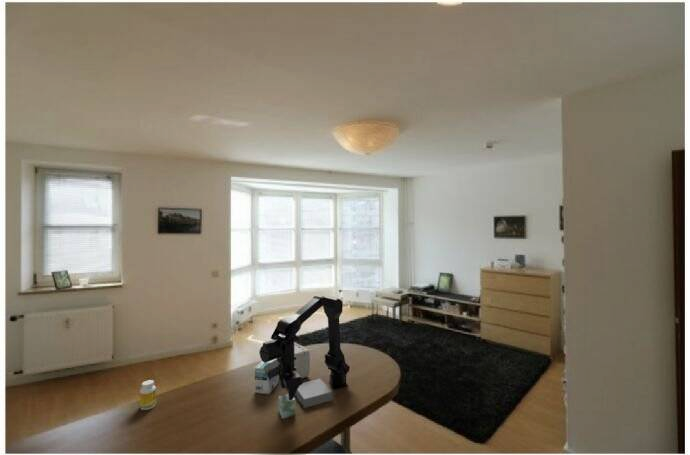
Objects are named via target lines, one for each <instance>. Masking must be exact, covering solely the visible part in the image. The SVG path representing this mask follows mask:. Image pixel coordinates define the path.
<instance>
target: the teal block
mask: <svg viewBox="0 0 690 455" xmlns="http://www.w3.org/2000/svg"><path fill="white" fill-rule="evenodd" d="M277 398H278V413H279V415H280V417H281V419H282V418H283V419H285V418H286V419H287V418H290V417H293V416H296V398H295V396H294V397H293V399H292V400H289V396H288V393H286V394H281V395H278V397H277ZM292 415H293V416H292ZM289 416H290V417H289Z"/></svg>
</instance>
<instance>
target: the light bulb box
mask: <svg viewBox="0 0 690 455" xmlns="http://www.w3.org/2000/svg"><path fill="white" fill-rule="evenodd" d="M274 360H276V359H274ZM274 360H271V361H269V362H266V363H265V362H263V361H262V360H261V361H260V363H258V364H257V365H256V366H255V367H254V393H255V394H256V393H257V394H264V395H270V394H271V392H272V391H273V390H274V389H275V387H276V386H277V385H278V384H279V375H277V376H275V377H273V378H271V379H268V377H267V375H266V373H265V371H264V366H266V365H268V364H269V363H271V362H273V361H274Z"/></svg>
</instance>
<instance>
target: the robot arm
mask: <svg viewBox="0 0 690 455" xmlns="http://www.w3.org/2000/svg"><path fill="white" fill-rule="evenodd" d="M312 297H313V298H312V299H310V300H309V301H308V302H307V303H305V304H304V305H303V306H302V307H301V308H300V309H298V310H297V311H296V312H294V313H293V314H290V315H287V316H285V317H283V318H281V319H280V320H279V321H278V322H277V323H276V326H275V328H274V330H273V333H271V336H270V339H271V340H268V341H264V342H262V346H260V349H259V350H258V351H259V357H260V360H261V362H262V361H263V362H265V363H266V362H269V361H271V360H274V359H276V358H277V359H276V360H274V361H273V362H271V363H269V364H268V365H266V366H264V371H265V373H266V375H267V377H268V379H271V378H273V377H275V376H277V375H278V379H279V381H280V386H281V388H282V389H287V394H288V396H289V400H292V399H293V397H294V398H295V396H296V395H295V393H296V391H297V389H298V387H299V386H300V385H302V384H303V383H304V382H303V380H304V378H302V377H301V376H300V375H299V374H298V373H293V371H296V367H295V360H296V356H295V348H294V342H295V341H298V340H300V337H299V336H298V335H297V333H298V332H299V331H300V330H301V328H302V325H303V324H304V323H305V322H306V321H307V320H308V319H309V318H310V317H311V316H312V315H314V314H315V313H316V312H317V311H318V310H319V309H321V308H322V307H323V308H322V309H323V313H324V314H325V316H326V318H327V328H328V333H327V334H328V351H327V353H325V354H324V364H325V366H327V369H328V370H329V371H330V374H329V382H328V383H329V384H330V386H331V387H333V389H335V390H337V389H340V388H344V387H347V386H349V384H348V382H347V374H348V373H350V368H351V367H350V365H348V364H347V362H346V358H345V354H344V352H343V351H342V349H341V333H340V332H341V331H340V330H341V328H340V327H341V326H340V317H341V315H342V313H343V305H344V304H343V300H341V298H338V297H337V298H336V297H333V296H327V297H325V296H324V295H319V294H315V295H314V296H312ZM282 335H283V336H284V337H283V336H282Z"/></svg>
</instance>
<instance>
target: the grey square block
mask: <svg viewBox="0 0 690 455" xmlns="http://www.w3.org/2000/svg"><path fill="white" fill-rule="evenodd" d="M294 396H295V397H296V396H297V397H296V398H297V400H298V399H299V400H298V401H299V403H300V402H301V403H300V404H301V406H302V405H303V406H302V407H303V408H304V409H306V408H305V407H307V408H310V407H314V406H317V405H320V404H324V403H327V402H331V401H333V391H332V390H331V388H330V387H329V386H328V385H327V384H326V383H325V382H324V381H323V380H322V379H321V378H318V379H313V380H310V381H309V380H308V381H305V382H303V384H302V385H300V386H299V387H298V389H297V391H296V393H295V395H294ZM309 406H310V407H309Z"/></svg>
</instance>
